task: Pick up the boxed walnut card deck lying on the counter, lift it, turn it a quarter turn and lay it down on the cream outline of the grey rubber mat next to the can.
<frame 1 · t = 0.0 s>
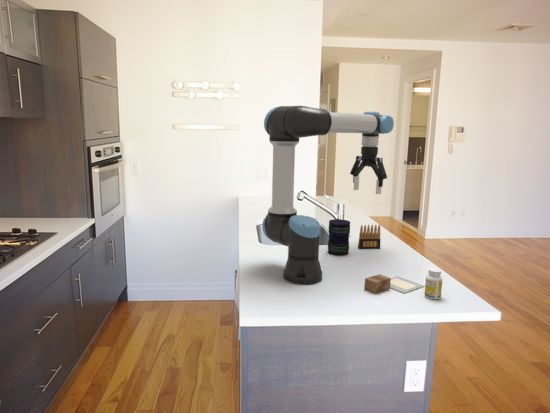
hand: (366, 191, 194), 28 cm above the worktop, fingers open, 13 cm apart
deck: (377, 290, 149), on the worktop
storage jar: (338, 253, 193), on the worktop
mat: (400, 285, 154), on the worktop
supplement bottle: (432, 297, 144), on the worktop
ammunition clip: (369, 248, 201), on the worktop
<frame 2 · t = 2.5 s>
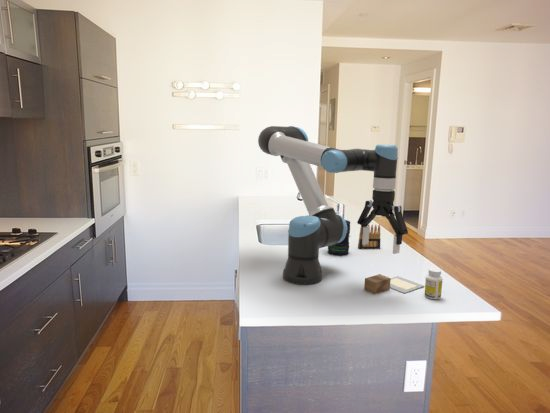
hand: (380, 248, 148), 15 cm above the worktop, fingers open, 13 cm apart
nothing on the worktop moved.
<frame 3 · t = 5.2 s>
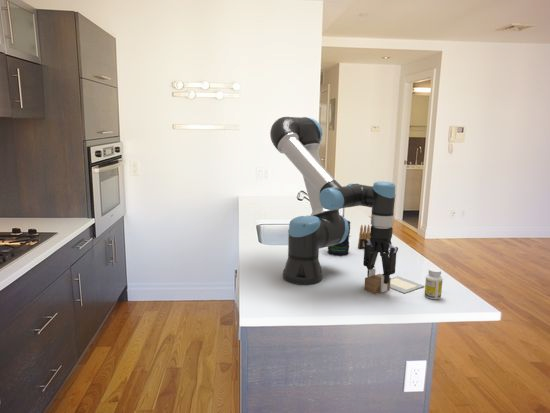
hand: (377, 288, 149), 0 cm above the worktop, fingers closed on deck, 5 cm apart
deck: (377, 289, 149), on the worktop, touching gripper
everything else where it was.
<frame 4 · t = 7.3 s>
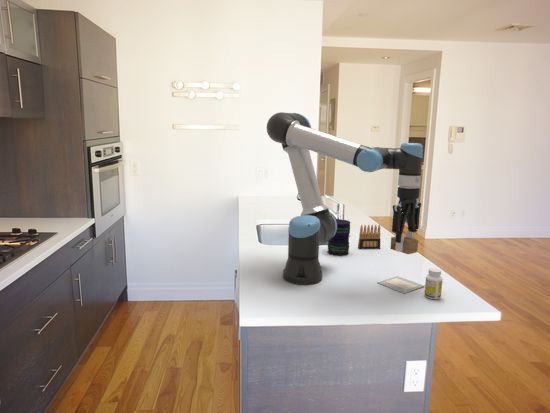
hand: (403, 249, 152), 14 cm above the worktop, fingers closed on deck, 5 cm apart
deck: (403, 250, 152), point 13 cm above the worktop, touching gripper
everything else where it was.
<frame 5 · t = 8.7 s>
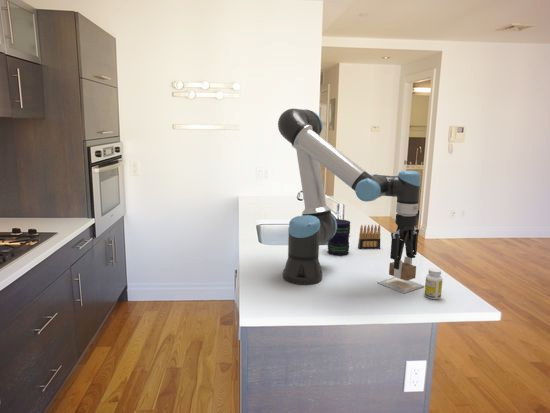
hand: (402, 275, 153), 4 cm above the worktop, fingers closed on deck, 5 cm apart
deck: (401, 276, 154), point 3 cm above the worktop, touching gripper
everything else where it was.
when the fingers open (2 cm above the worktop, at t = 9.7 s): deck drops 1 cm, resting on mat.
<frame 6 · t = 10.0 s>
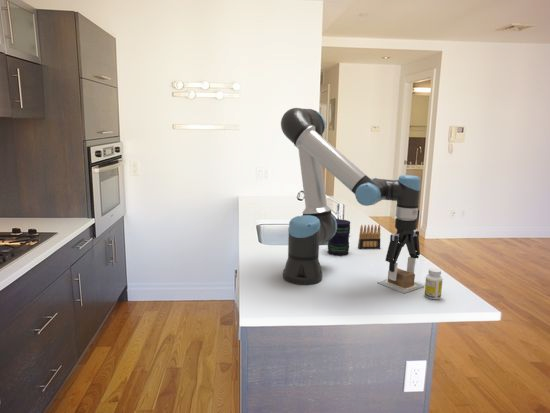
hand: (401, 276, 154), 3 cm above the worktop, fingers open, 10 cm apart
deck: (400, 283, 154), resting on mat
everything else where it was.
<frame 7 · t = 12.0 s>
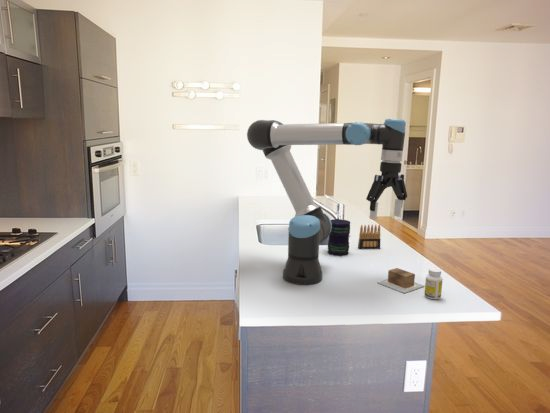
hand: (385, 217, 157), 24 cm above the worktop, fingers open, 13 cm apart
nothing on the worktop moved.
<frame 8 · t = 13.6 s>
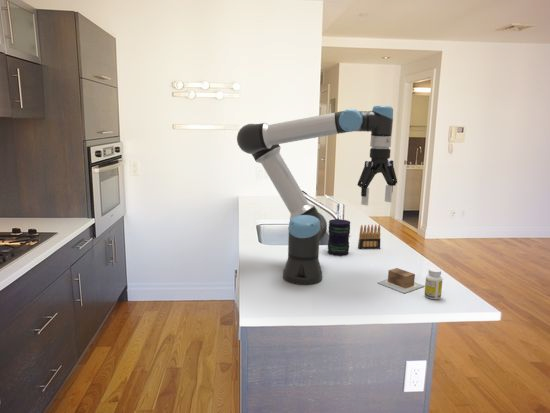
hand: (376, 203, 160), 29 cm above the worktop, fingers open, 13 cm apart
nothing on the worktop moved.
at the end: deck inside the target area (0.1 cm from its centre), point 0.5 cm above the worktop; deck tilted 0°; the gripper is holding nothing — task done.
